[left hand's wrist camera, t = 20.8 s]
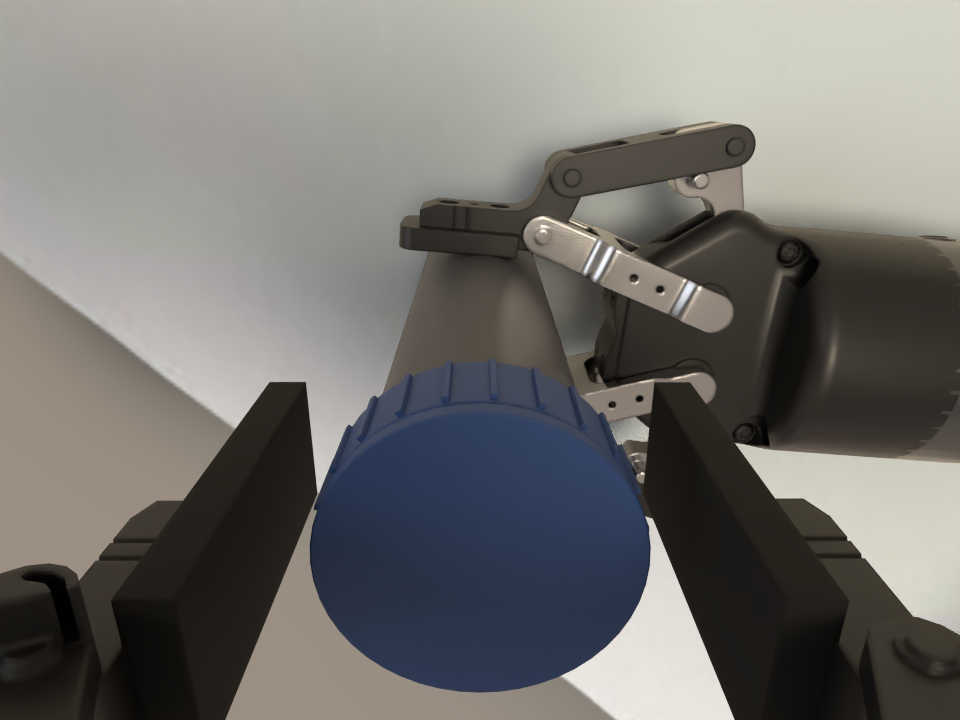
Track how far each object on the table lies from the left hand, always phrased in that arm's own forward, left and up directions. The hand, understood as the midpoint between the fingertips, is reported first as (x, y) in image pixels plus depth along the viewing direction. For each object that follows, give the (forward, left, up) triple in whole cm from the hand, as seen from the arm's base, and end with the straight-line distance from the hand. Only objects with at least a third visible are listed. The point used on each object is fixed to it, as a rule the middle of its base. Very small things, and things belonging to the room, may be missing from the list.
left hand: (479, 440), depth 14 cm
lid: (0, 0, +4) cm, 4 cm away
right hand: (-2, -2, -9) cm, 9 cm away
